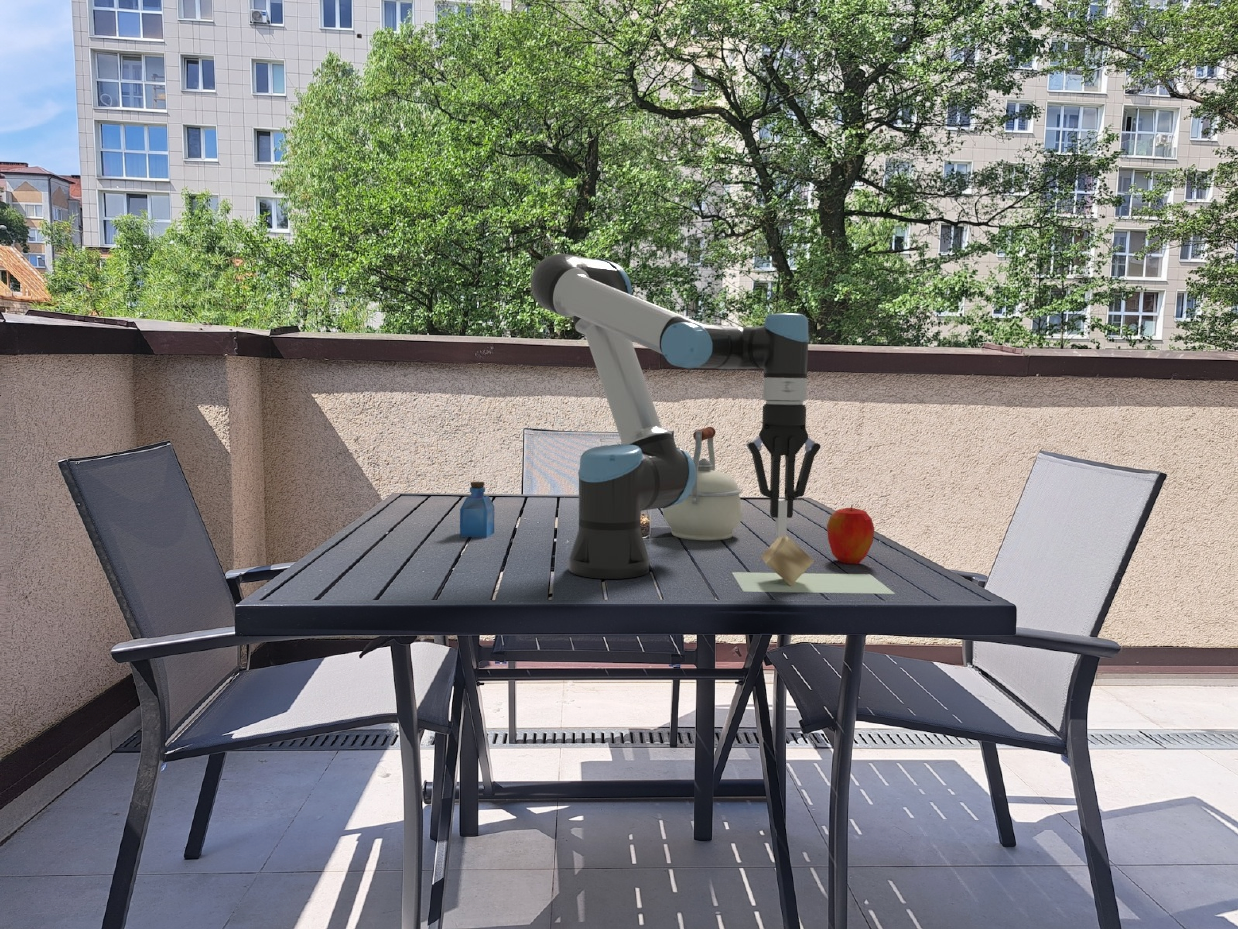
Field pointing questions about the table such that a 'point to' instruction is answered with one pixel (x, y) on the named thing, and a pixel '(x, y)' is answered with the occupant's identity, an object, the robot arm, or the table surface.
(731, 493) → the kettle
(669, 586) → the table surface
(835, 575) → the felt mat
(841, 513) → the apple
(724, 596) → the table surface
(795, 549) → the wooden block
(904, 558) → the table surface
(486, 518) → the blue corked bottle
